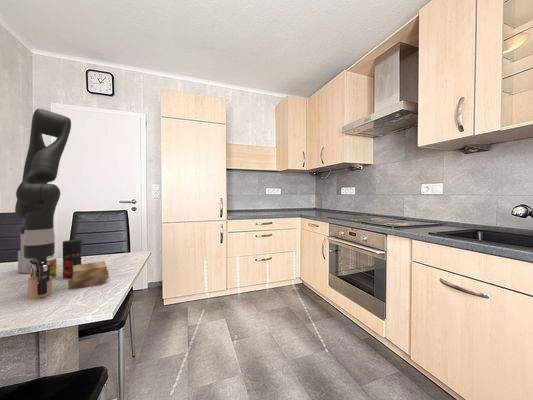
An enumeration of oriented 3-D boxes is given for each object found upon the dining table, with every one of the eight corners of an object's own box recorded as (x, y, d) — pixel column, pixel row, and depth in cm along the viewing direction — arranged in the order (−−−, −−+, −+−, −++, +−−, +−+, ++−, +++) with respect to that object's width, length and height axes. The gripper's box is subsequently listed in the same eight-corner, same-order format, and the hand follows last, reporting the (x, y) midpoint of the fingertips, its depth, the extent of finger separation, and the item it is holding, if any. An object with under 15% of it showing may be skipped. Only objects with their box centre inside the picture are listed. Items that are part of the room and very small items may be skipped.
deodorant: (84, 275, 99) (84, 240, 99) (68, 279, 93) (68, 242, 93) (75, 273, 101) (75, 239, 101) (59, 278, 95) (59, 241, 95)
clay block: (31, 299, 75) (31, 280, 75) (27, 295, 78) (27, 277, 78) (51, 294, 79) (51, 276, 79) (47, 290, 82) (47, 274, 82)
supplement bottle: (36, 281, 91) (35, 255, 91) (39, 277, 96) (39, 252, 96) (54, 278, 94) (54, 253, 94) (57, 274, 99) (57, 251, 99)
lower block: (68, 290, 84) (68, 280, 84) (79, 281, 93) (79, 272, 93) (101, 286, 87) (101, 277, 87) (108, 278, 97) (108, 269, 97)
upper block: (72, 281, 83) (72, 271, 83) (73, 274, 91) (73, 265, 91) (106, 275, 89) (106, 266, 89) (104, 269, 97) (104, 261, 97)
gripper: (60, 242, 77) (61, 293, 78) (48, 238, 86) (48, 284, 86) (29, 246, 71) (29, 301, 71) (18, 241, 79) (19, 291, 79)
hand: (39, 292), depth 78 cm, fingers closed on clay block, 5 cm apart
